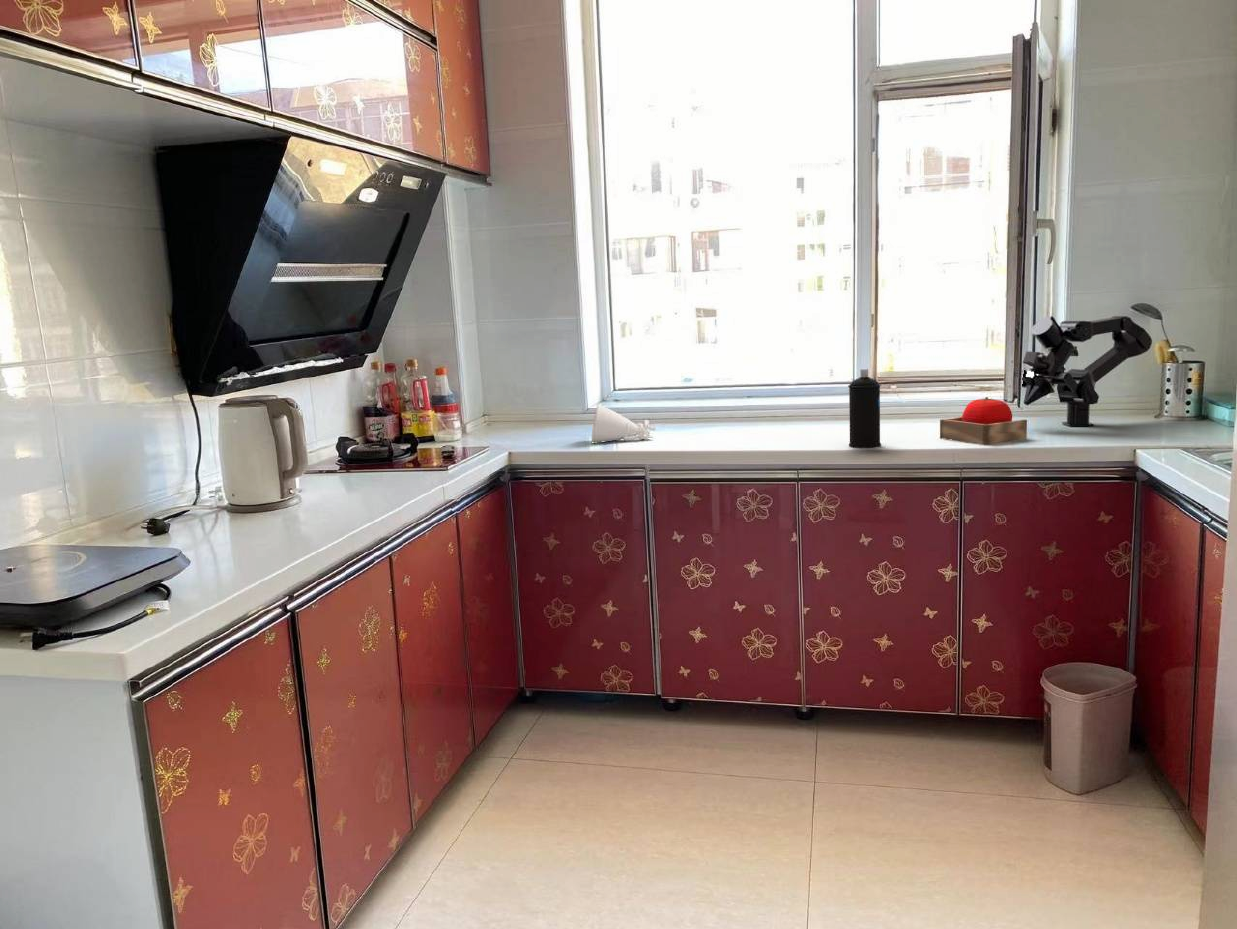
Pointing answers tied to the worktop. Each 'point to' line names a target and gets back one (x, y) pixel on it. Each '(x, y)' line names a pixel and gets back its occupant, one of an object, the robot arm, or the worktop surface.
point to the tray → (983, 431)
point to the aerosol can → (864, 412)
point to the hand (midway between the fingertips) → (1025, 404)
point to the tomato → (987, 412)
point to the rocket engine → (617, 427)
